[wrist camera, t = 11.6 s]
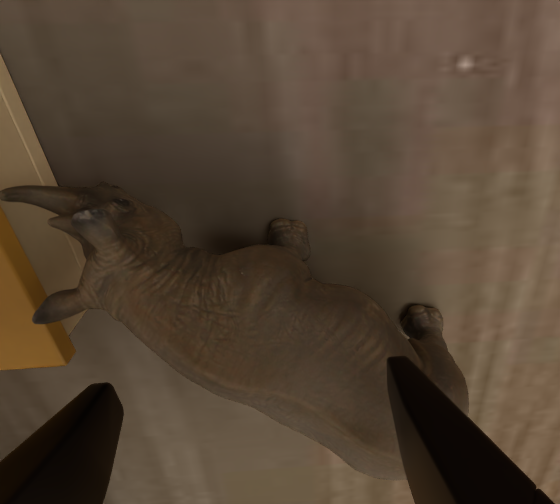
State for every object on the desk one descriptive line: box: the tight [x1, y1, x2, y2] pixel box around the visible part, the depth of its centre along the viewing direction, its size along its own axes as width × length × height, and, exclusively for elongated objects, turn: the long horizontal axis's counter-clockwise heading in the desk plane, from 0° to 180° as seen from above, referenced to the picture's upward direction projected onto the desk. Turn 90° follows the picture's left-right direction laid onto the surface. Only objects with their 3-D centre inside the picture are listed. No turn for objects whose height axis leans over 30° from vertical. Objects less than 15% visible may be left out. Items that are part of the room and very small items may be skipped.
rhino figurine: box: [0, 182, 469, 480], centre depth 11 cm, size 4×14×6 cm, turn 58°
